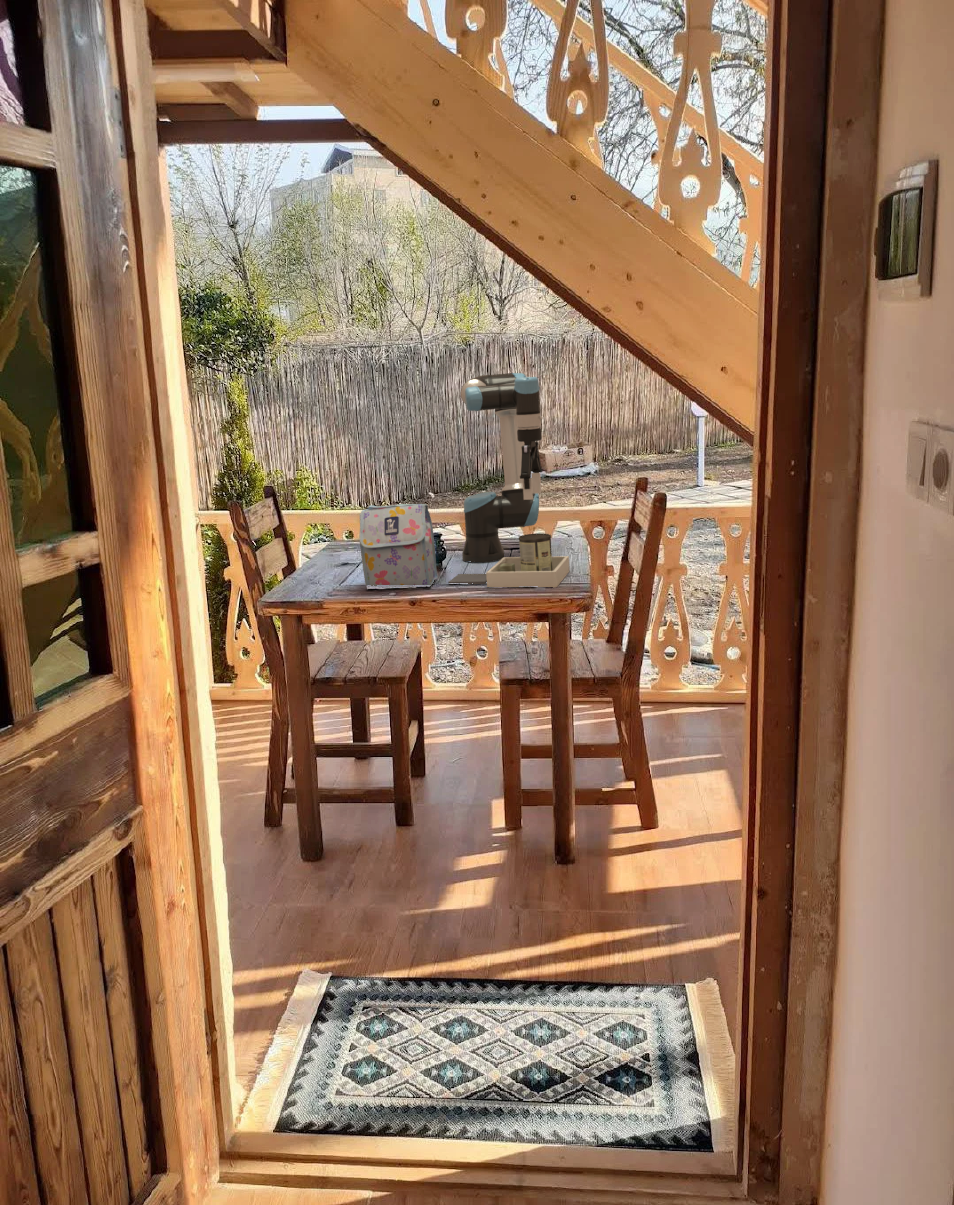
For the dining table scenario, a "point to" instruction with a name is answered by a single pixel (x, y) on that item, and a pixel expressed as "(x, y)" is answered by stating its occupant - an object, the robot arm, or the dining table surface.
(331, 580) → the dining table surface
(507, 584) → the open crate
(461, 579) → the charcoal mat
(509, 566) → the khaki block
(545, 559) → the coffee can
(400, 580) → the lunch bag
